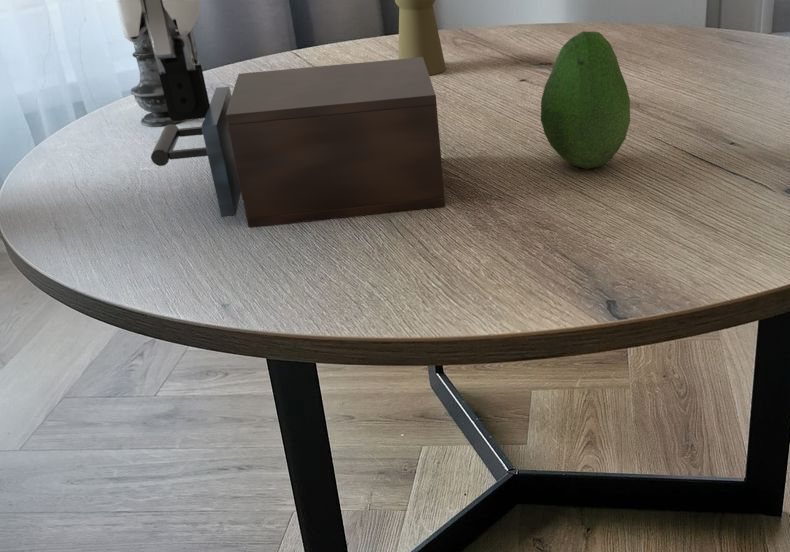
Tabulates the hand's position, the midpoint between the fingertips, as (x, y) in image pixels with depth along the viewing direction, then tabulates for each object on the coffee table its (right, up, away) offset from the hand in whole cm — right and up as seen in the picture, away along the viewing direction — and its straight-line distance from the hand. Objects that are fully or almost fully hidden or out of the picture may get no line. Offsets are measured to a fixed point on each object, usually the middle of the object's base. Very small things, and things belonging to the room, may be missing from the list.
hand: (191, 116), depth 81 cm
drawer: (+7, -5, +4) cm, 10 cm away
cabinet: (+12, -5, +5) cm, 14 cm away
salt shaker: (-12, +6, +27) cm, 30 cm away
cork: (+16, +15, +40) cm, 46 cm away
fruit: (+34, -3, +8) cm, 35 cm away
